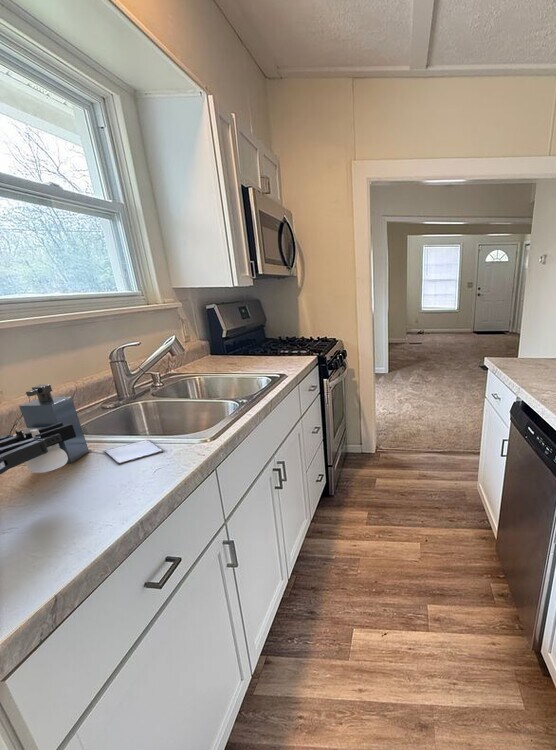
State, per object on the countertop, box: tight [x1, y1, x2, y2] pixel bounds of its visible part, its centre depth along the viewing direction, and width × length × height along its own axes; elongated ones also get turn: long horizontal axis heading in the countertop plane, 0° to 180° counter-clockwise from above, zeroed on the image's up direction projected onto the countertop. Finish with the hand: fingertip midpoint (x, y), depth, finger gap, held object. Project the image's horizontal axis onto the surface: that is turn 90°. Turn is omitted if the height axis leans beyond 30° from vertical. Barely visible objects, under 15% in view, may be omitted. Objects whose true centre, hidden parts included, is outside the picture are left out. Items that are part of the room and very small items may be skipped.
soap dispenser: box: [18, 384, 90, 464], centre depth 95 cm, size 8×7×19 cm
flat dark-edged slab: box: [104, 439, 164, 465], centre depth 102 cm, size 11×10×1 cm
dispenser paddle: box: [21, 427, 60, 448], centre depth 92 cm, size 1×6×6 cm, turn 93°
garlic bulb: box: [25, 429, 68, 474], centre depth 77 cm, size 6×6×8 cm
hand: (67, 429), depth 81 cm, fingers closed on garlic bulb, 2 cm apart
